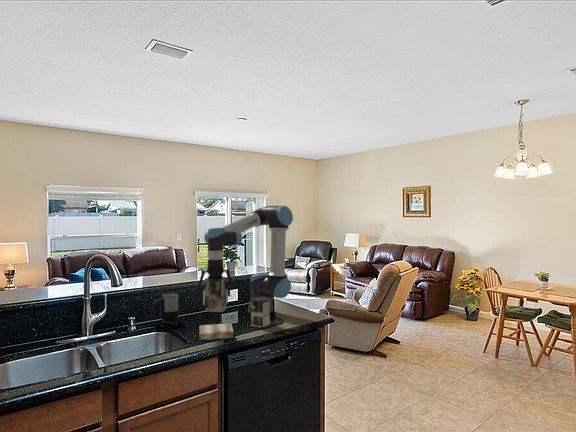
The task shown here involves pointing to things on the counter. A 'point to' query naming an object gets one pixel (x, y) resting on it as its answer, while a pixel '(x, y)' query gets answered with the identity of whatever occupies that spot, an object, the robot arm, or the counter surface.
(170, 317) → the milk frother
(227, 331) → the birch base
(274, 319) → the counter surface
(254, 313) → the coffee can
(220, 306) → the coffee box
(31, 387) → the counter surface
